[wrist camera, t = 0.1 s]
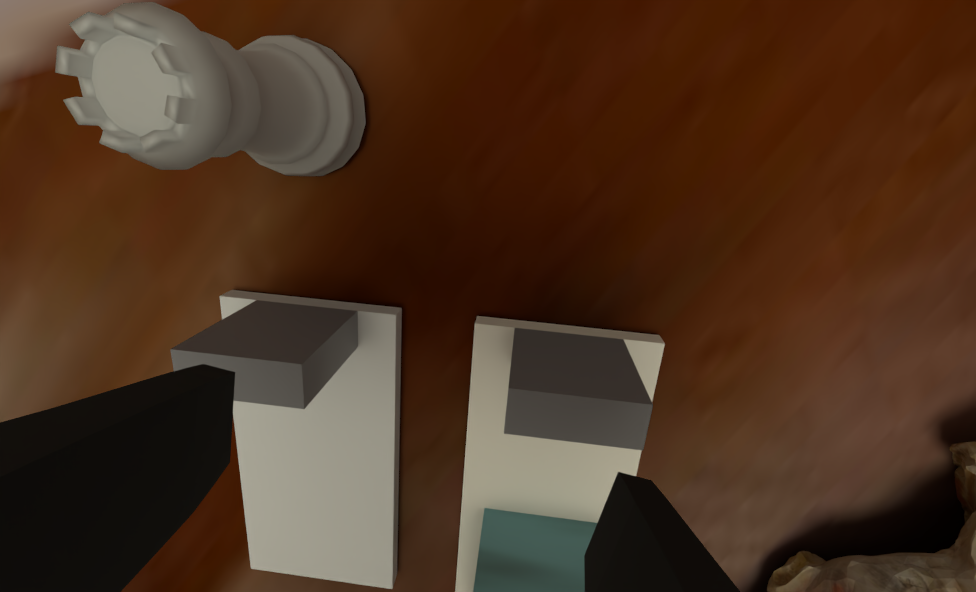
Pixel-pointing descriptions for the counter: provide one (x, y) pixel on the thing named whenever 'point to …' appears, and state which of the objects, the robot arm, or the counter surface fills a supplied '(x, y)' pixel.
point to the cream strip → (551, 422)
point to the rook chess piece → (211, 93)
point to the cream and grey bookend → (313, 430)
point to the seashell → (896, 556)
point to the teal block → (531, 553)
